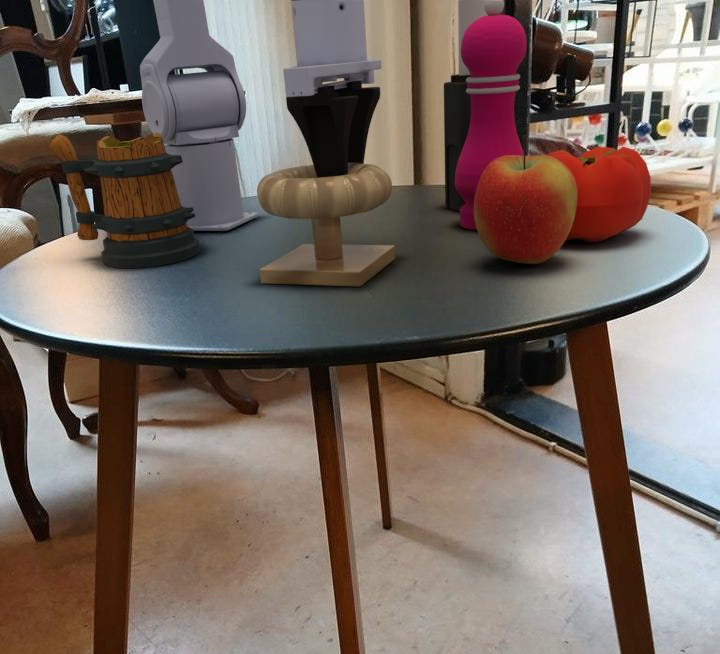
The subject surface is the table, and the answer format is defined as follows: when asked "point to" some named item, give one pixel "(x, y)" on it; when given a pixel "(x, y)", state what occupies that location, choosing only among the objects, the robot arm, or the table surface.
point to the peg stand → (328, 260)
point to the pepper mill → (489, 98)
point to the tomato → (607, 191)
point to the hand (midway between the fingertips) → (341, 183)
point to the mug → (131, 201)
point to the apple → (525, 207)
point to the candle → (458, 106)
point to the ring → (323, 192)
